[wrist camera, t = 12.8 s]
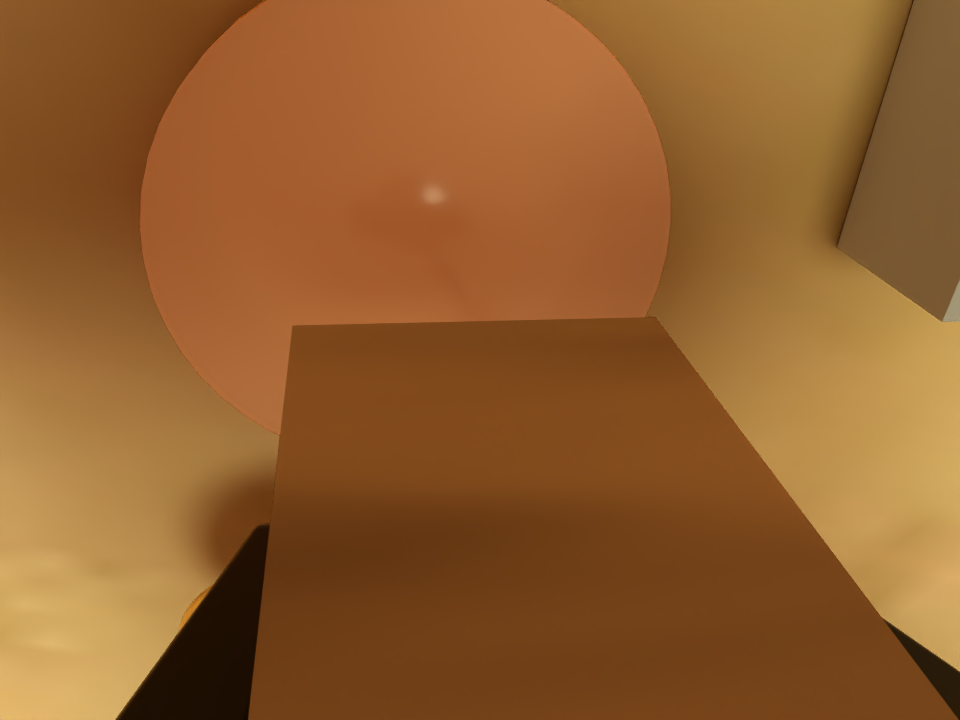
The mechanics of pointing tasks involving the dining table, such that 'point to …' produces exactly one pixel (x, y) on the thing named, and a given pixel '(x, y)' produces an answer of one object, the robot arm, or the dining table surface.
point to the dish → (396, 181)
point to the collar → (915, 169)
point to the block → (546, 541)
